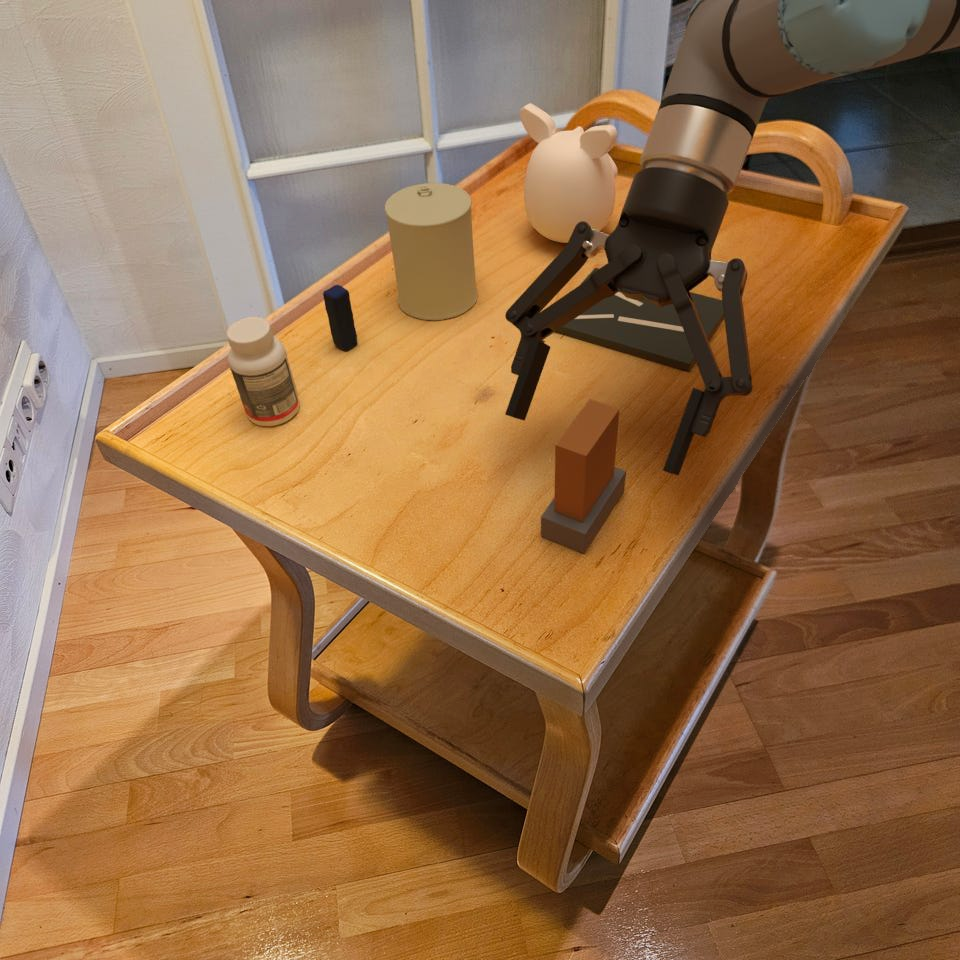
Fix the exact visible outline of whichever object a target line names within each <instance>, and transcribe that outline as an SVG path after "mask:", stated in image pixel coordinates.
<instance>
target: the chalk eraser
mask: <svg viewBox="0 0 960 960" xmlns="http://www.w3.org/2000/svg"><path fill="white" fill-rule="evenodd" d="M620 410H621V409H620V408H619V407H617V406H613V405H609V404H607V403H603V402H600V401H597V400H594V399H592V398H589V399H588V401H586V403H585V404H584V406H583V407H582V408H581V410H580V411H579V412H578V413H577V415H576V417H575V418H574V419H573V421H571V423H570V424H569V426H568V427H567V429H565V431H564V432H563V434H562V435H561V436H560V438H559V439H558V441H557V442H556V443H555V445H554V455H555V456H554V496H553V499H552V500H551V501H550V503H549V504H548V506H547V507H546V509H545V510H544V511H543V513H542V514H541V515H540V537H542V538H544V539H547V540H549V541H552V542H554V543H557V544H559V545H561V546H564V547H567V548H568V549H572V550H574V551H576V552H578V553H580V554H584V555H585V554H586V552H587V550H588V549H589V547H590V545H591V544H592V543H593V541H594V539H595V538H596V537H597V534H598V533H599V531H600V530H601V528H602V527H603V526H604V524H605V522H606V521H607V519H608V517H609V516H610V514H611V512H612V511H613V510H614V508H615V507H616V506H617V505H616V504H617V503H618V501H619V500H620V498H621V497H622V495H623V493H624V492H625V486H626V478H627V470H624V469H621V468H619V467H617V466H615V465H616V456H617V455H616V453H617V444H618V443H617V442H618V434H619V433H618V430H619V421H620V420H619V419H620Z"/></svg>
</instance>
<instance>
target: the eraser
mask: <svg viewBox="0 0 960 960" xmlns="http://www.w3.org/2000/svg"><path fill="white" fill-rule="evenodd" d="M322 295H323V301H324V307H325V311H326V314H327V318H328V324H329V329H330V334H331V338H332V341H333V344H334V346H335V347H336V348H337V349H339V350H341V351H343V352H349V351H351V350H352V349H353V348H355V347H357V346H358V334H357V330H356V327H355V319H354V313H353V310H352V303H351V297H350V291H349V290H348V289H347V288H344V287H343V285H340V284H335V285H332V286H331V287H330V288H327V289H326V290H324V291H323V292H322Z"/></svg>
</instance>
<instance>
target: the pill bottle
mask: <svg viewBox="0 0 960 960" xmlns="http://www.w3.org/2000/svg"><path fill="white" fill-rule="evenodd" d="M226 338H227V341H228V344H229V347H230V349H229V351H228V354H227V362H228V363H227V364H228V366H229V369H230V372H231V374H232V378H233V380H234V383H235V386H236V388H237V392H238V395H239V398H240V401H241V404H242V406H243V409H244V411H245V414H246V417H247V418H248V420H250V422H252V423H253V424H255V425H257V426H262V427H273V426H279V425H281V424H285V423H286V422H289V420H291V419H292V418H293V417H294V416H296V415H297V413H298V411H299V410H300V407H301V401H300V397H299V393H298V389H297V385H296V381H295V379H294V376H293V372H292V370H291V365H290V362H289V358H288V354H287V351H286V348H285V345H284V344H283V342H282V341H281V340H280V339H279V338H277V337H276V336H274V332H273V330H272V326H271V324H270V322H269V321H268V320H266V319H265V318H263V317H261V316H259V317H258V316H249V317H244V318H241V319H238V320H236V321H234V322H233V323H231V324H230V326H229V327H228V328H227V330H226Z"/></svg>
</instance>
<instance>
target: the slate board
mask: <svg viewBox="0 0 960 960" xmlns="http://www.w3.org/2000/svg"><path fill="white" fill-rule="evenodd" d="M599 269H600V268H598V267H594V268H593V269H592V271H591V272H590V273H589V274H588V275H587V276H586V277H585V279H583V281H582V282H581V283H580V284H579V285H581V284H582V283H584V282H585V281H587V280H588V279H589V278H590V277H591V275H592V274H593V273H594V272H596V271H597V270H599ZM690 294H691V297H692V299H693V302H694V304H695V307H696V310H697V313H698V316H699V318H700V321H701V323H702V326H703V329H704V331H705V334H706V336H707V339H708V341H710V340H711V338H712V336H713V335H714V334H715V332H716V331H717V329H718V327H719V326H720V325H721V323H722V321H723V320H724V311H723V302H722V299H719V298H715V297H711V296H708V295H703V294H701V293H696V292H693V291H692V292H691V291H690ZM554 333H557V334H560V335H564V336H567V337H571V338H575V339H578V340H581V341H584V342H588V343H591V344H595V345H598V346H601V347H605V348H608V349H611V350H615V351H618V352H621V353H625V354H628V355H632V356H635V357H638V358H641V359H645V360H649V361H650V362H651V361H652V362H654V363H659V364H662V365H665V366H668V367H672V368H675V369H679V370H682V371H686V372H690V371H691V369H692V367H693V366H694V364H696V361H695V358H694V356H693V353H692V350H691V348H690V345H689V343H688V340H687V337H686V335H685V332H684V330H683V327H682V324H681V322H680V319H679V317H678V314H677V312H676V310H675V308H674V305H673V304H670V305H667V306H663V307H659V306H655V305H653V304H651V303H650V302H648V301H646V300H633V299H630V298H626V297H625V296H624V295H623V294H622V293H621V292H620V291H619V292H618V293H616V294H615V295H613V296H611V297H609V298H605V299H603V300H602V301H600V302H599V303H597V304H596V305H594V306H593V307H591V308H590V309H588V310H587V311H585V312H584V313H582V314H581V315H579V316H578V317H576V318H575V319H573V320H572V321H570V322H569V323H567V324H566V325H564V326H563V327H561V328H560V329H558V330H557V331H555V332H554Z"/></svg>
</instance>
